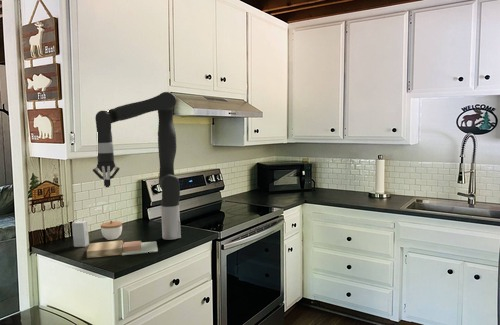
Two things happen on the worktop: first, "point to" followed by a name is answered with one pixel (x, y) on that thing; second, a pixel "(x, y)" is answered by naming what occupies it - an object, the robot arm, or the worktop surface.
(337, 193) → the worktop surface
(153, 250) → the sage mat
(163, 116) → the robot arm
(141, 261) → the worktop surface
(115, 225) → the lidded jar
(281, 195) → the worktop surface
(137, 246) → the terracotta coaster
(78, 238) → the skincare box
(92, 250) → the oak board
